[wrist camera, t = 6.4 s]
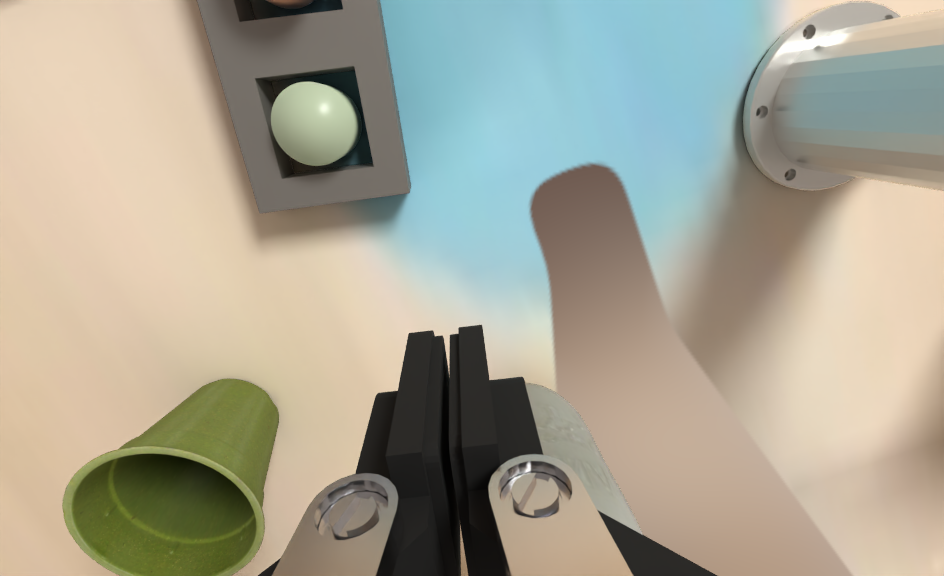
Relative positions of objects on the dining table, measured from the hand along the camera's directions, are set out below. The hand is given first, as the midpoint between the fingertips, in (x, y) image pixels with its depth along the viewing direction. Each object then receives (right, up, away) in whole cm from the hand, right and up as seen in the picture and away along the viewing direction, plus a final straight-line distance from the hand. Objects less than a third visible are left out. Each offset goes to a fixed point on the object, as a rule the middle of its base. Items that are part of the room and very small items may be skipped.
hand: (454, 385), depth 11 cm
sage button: (-10, +14, +21) cm, 27 cm away
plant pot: (-20, -8, +29) cm, 36 cm away
